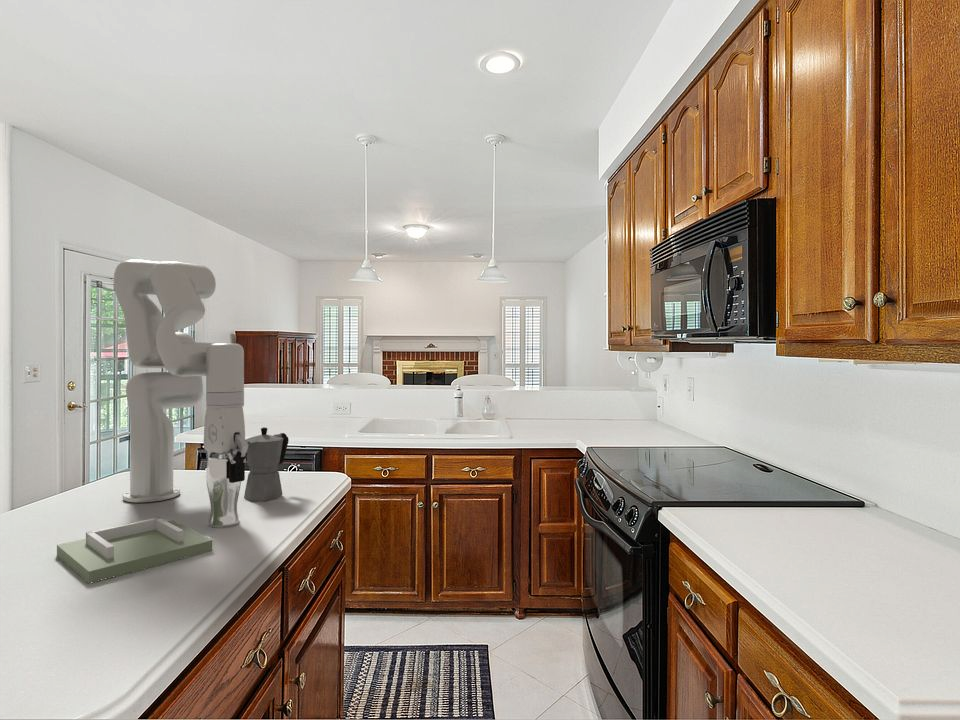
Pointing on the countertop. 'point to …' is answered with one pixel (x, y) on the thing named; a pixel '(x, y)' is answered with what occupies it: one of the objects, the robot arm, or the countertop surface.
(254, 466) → the coffeepot
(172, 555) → the plate
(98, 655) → the countertop surface
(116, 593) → the countertop surface
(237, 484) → the beer glass
